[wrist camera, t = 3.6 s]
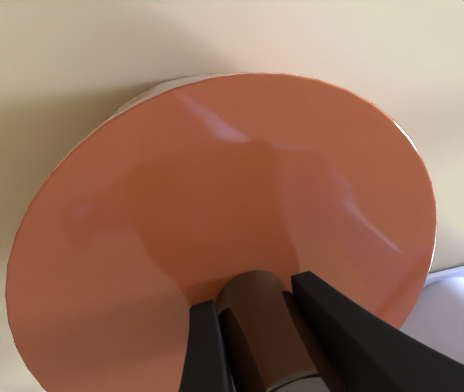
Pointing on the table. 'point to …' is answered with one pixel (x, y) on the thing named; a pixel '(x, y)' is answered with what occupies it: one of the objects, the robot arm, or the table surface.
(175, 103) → the lid
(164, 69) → the table surface
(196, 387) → the robot arm
